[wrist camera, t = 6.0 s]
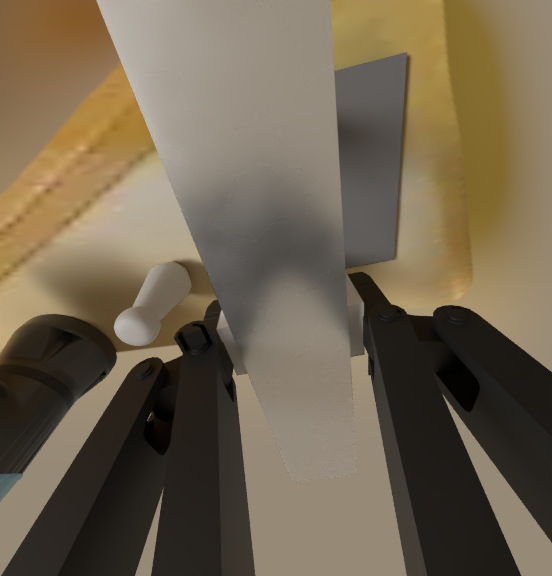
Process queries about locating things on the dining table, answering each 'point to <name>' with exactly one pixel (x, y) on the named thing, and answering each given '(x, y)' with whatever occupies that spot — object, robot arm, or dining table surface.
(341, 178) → the rubber mat
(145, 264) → the dining table surface
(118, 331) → the salt shaker
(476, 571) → the robot arm
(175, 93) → the metal rail
